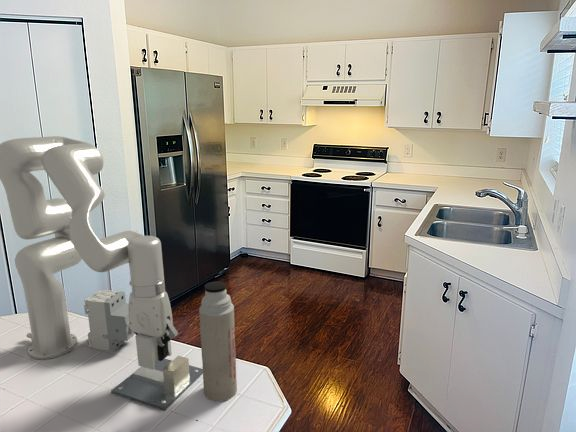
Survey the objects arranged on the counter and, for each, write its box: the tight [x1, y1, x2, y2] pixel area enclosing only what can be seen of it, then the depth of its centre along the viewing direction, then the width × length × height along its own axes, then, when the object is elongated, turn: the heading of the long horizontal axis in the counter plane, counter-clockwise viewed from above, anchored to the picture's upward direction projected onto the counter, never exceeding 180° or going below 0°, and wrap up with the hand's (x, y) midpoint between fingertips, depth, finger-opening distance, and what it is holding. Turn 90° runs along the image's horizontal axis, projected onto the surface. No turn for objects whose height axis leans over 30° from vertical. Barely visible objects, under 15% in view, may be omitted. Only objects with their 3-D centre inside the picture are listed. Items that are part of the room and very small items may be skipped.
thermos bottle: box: [198, 281, 238, 403], centre depth 100 cm, size 8×8×28 cm
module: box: [134, 332, 173, 370], centre depth 104 cm, size 4×7×9 cm, turn 157°
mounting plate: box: [110, 355, 203, 412], centre depth 106 cm, size 16×16×7 cm
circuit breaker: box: [83, 289, 136, 352], centre depth 122 cm, size 8×14×15 cm, turn 78°
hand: (155, 355), depth 105 cm, fingers closed on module, 4 cm apart
